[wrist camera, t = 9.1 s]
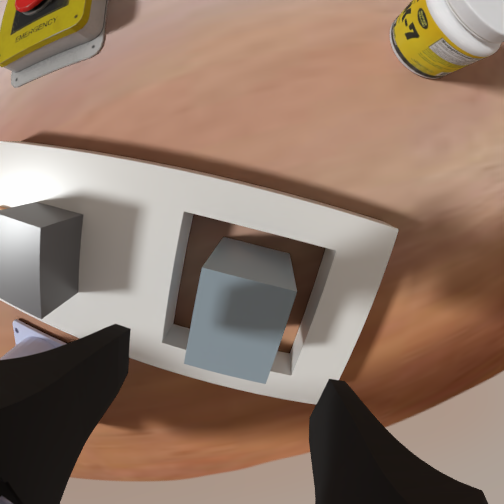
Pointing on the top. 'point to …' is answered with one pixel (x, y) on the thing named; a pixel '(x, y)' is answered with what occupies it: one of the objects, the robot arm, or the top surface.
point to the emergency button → (49, 35)
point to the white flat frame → (174, 249)
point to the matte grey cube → (39, 256)
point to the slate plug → (241, 310)
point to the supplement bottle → (446, 34)
